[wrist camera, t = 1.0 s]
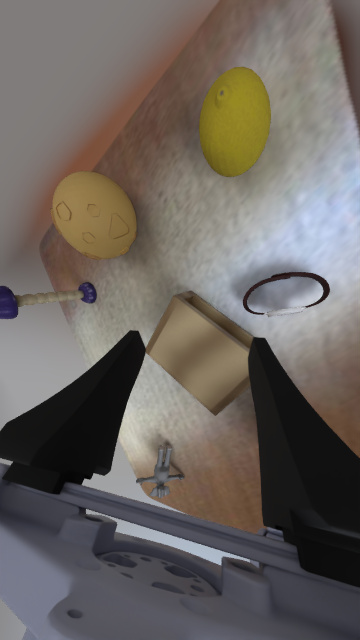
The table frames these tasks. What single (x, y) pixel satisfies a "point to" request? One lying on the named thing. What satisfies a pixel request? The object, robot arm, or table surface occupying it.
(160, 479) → the gray toy figurine
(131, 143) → the table surface
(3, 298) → the toy lamp
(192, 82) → the table surface
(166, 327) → the shelf
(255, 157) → the lemon
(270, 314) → the watch
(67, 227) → the stress ball
